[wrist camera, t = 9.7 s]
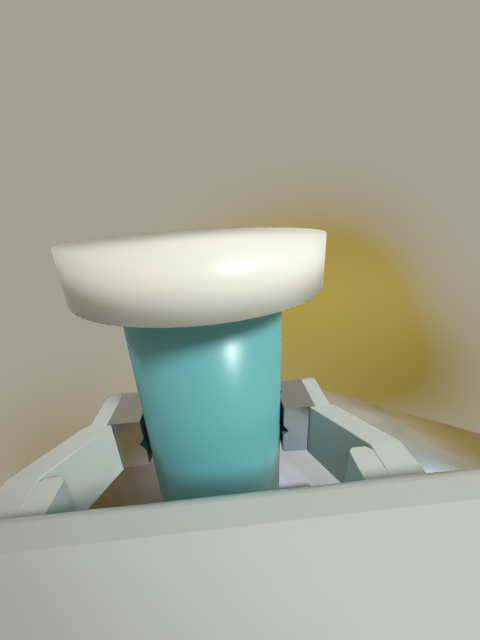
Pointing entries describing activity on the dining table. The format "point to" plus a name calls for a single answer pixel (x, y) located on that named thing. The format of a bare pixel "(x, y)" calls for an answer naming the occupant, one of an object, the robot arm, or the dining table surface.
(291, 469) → the dining table surface
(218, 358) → the bobbin
